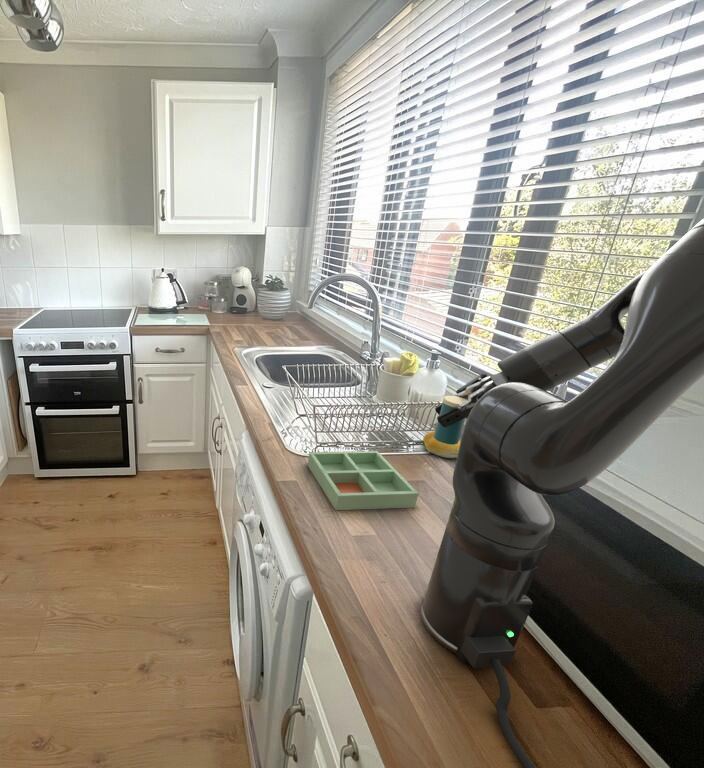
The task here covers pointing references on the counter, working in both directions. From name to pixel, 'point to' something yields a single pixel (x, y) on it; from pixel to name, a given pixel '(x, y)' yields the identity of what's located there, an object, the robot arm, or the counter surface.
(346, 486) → the grid
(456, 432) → the teal cream-capped cylinder
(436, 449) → the bread roll
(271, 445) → the counter surface
